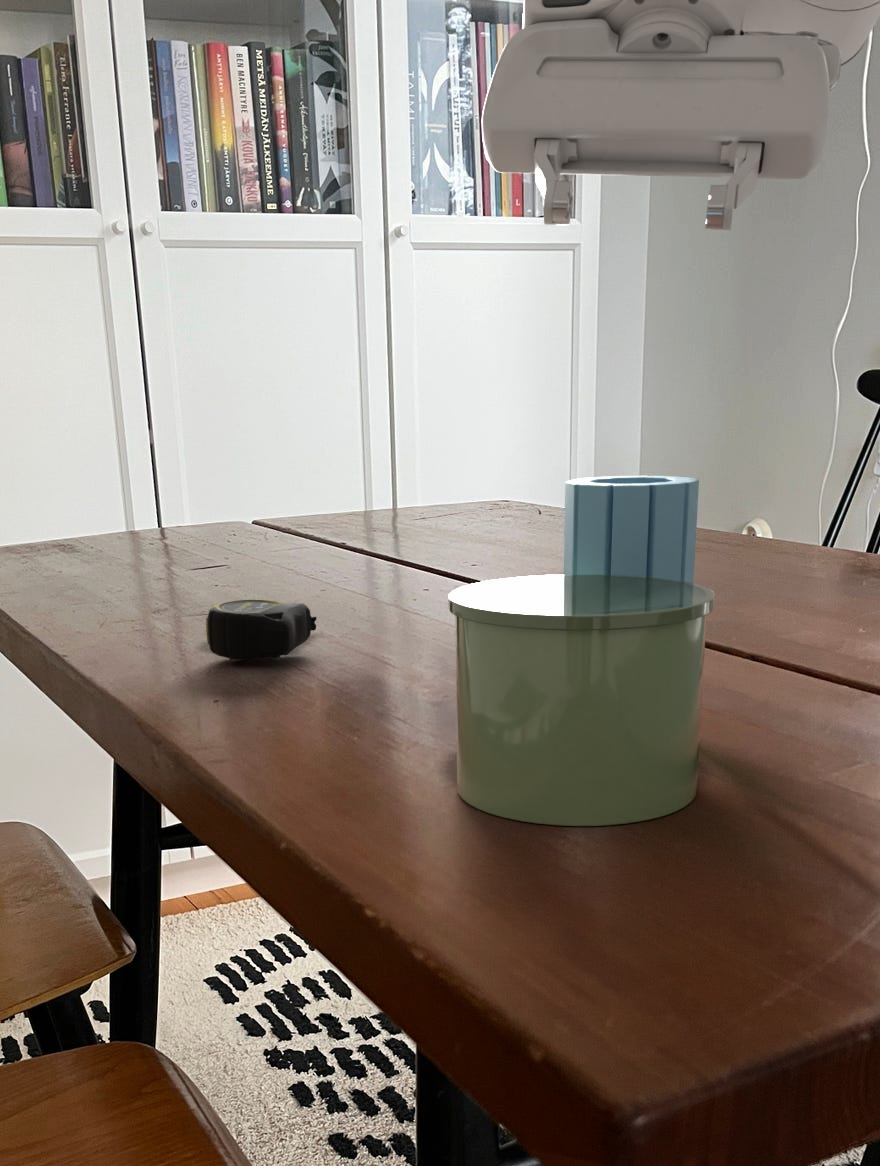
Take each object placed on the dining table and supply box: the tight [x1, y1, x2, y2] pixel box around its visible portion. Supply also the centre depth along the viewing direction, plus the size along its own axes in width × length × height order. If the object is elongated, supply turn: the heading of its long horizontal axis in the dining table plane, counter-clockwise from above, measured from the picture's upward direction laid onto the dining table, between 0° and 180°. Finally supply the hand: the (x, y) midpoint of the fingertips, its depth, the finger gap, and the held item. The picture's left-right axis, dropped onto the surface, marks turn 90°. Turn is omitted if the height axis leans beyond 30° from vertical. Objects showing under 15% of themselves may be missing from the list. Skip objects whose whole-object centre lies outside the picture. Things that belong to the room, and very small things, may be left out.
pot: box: [447, 573, 716, 827], centre depth 60 cm, size 20×12×11 cm, turn 158°
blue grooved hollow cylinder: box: [563, 475, 700, 583], centre depth 65 cm, size 6×7×8 cm
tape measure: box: [205, 599, 317, 663], centre depth 88 cm, size 7×7×4 cm
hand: (636, 219), depth 74 cm, fingers open, 8 cm apart
